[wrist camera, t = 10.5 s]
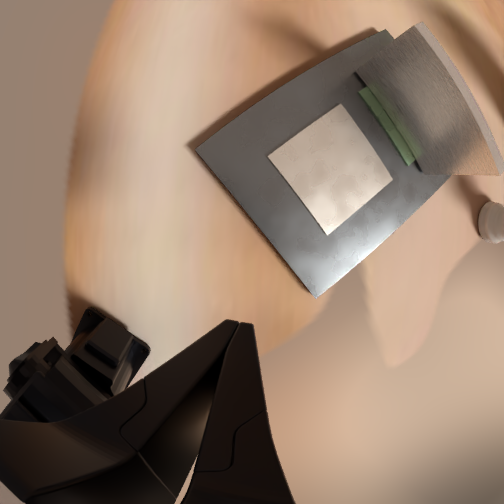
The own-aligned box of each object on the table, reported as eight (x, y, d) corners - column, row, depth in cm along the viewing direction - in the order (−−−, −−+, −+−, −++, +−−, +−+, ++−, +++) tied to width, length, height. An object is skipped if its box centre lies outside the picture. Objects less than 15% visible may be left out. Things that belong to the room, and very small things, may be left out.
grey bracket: (424, 174, 20) (500, 176, 12) (355, 70, 18) (413, 25, 10) (461, 138, 20) (529, 132, 11) (401, 44, 17) (459, 7, 9)
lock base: (312, 294, 23) (338, 327, 17) (196, 151, 20) (184, 136, 14) (461, 157, 21) (505, 156, 15) (380, 33, 18) (414, 5, 12)
